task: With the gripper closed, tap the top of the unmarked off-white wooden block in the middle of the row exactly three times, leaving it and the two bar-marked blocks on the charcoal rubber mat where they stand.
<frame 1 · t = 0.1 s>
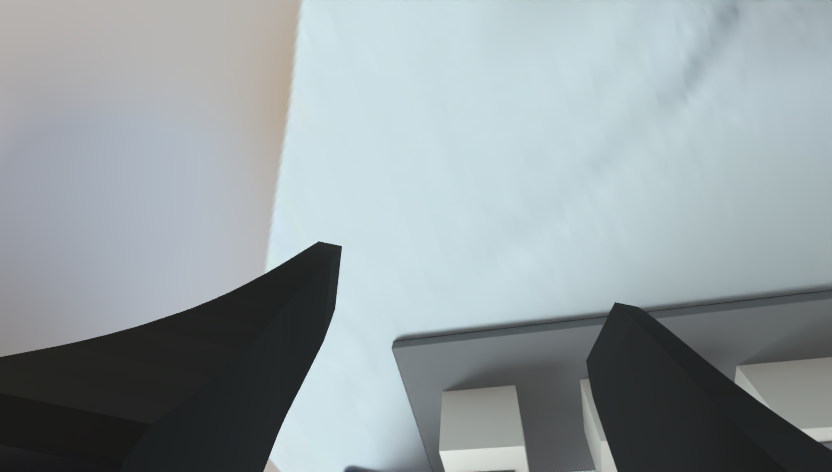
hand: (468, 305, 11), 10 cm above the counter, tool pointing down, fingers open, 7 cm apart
two bar block: (777, 391, 23), point 1 cm above the counter, touching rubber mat
one bar block: (483, 413, 26), point 1 cm above the counter, touching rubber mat
plain block: (621, 403, 25), point 1 cm above the counter, touching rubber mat
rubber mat: (618, 395, 25), on the counter
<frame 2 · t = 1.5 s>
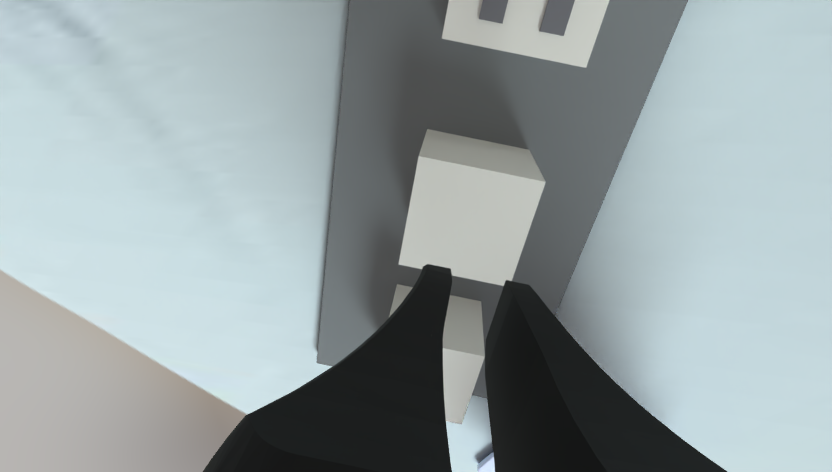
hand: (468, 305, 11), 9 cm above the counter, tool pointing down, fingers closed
one bar block: (430, 325, 23), point 1 cm above the counter, touching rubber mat
plain block: (466, 187, 19), point 1 cm above the counter, touching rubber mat
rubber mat: (466, 182, 19), on the counter
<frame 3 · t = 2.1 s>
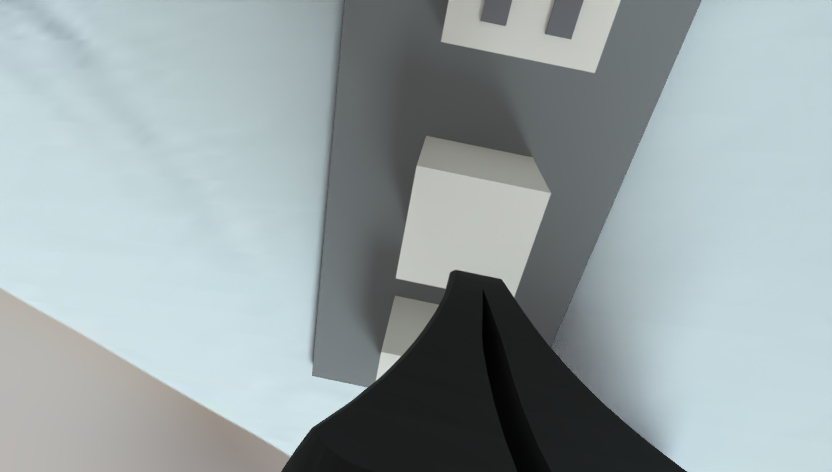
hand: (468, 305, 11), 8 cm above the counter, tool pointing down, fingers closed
one bar block: (430, 338, 22), point 1 cm above the counter, touching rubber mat
plain block: (466, 196, 18), point 1 cm above the counter, touching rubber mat
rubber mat: (466, 191, 19), on the counter
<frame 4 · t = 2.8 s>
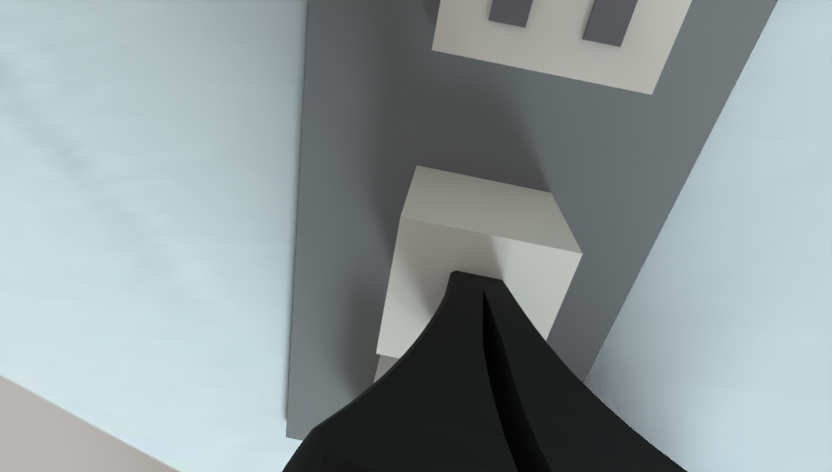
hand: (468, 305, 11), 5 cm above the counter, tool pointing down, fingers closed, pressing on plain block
one bar block: (423, 399, 18), point 1 cm above the counter, touching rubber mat
plain block: (467, 238, 15), point 1 cm above the counter, touching gripper, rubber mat
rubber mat: (467, 230, 15), on the counter
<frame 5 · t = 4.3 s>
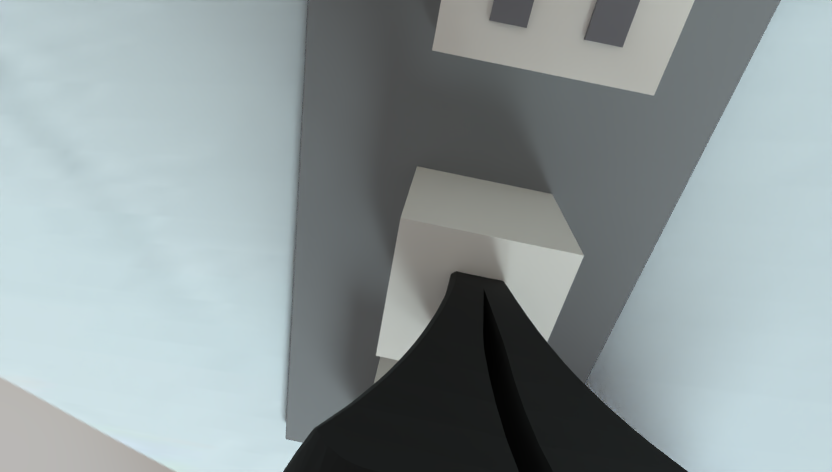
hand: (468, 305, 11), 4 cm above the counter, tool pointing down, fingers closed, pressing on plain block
plain block: (468, 239, 14), point 1 cm above the counter, touching gripper, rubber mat
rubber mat: (468, 231, 15), on the counter
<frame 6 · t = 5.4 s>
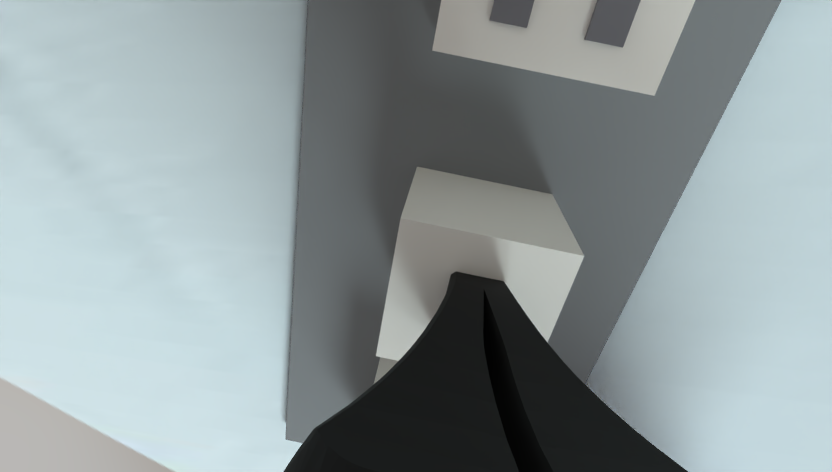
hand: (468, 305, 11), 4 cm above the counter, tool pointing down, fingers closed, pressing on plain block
plain block: (468, 239, 14), point 1 cm above the counter, touching gripper, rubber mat
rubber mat: (468, 232, 15), on the counter
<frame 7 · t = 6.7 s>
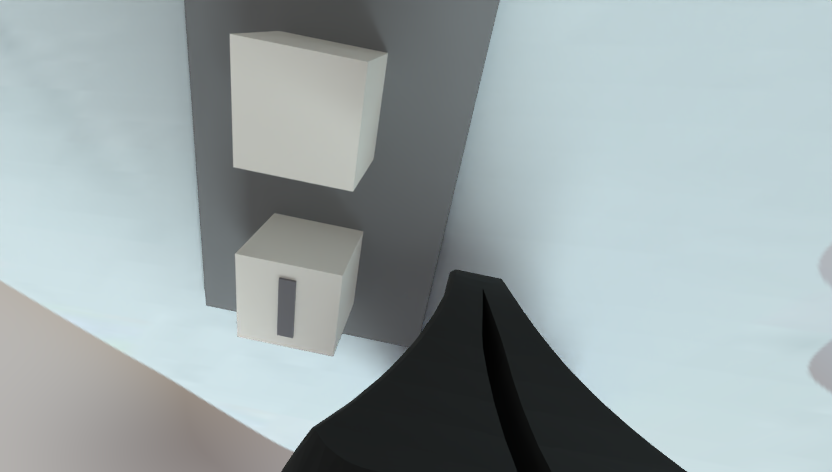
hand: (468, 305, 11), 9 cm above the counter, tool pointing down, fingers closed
one bar block: (315, 260, 21), point 1 cm above the counter, touching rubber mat
plain block: (329, 98, 18), point 1 cm above the counter, touching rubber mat
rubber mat: (333, 96, 18), on the counter
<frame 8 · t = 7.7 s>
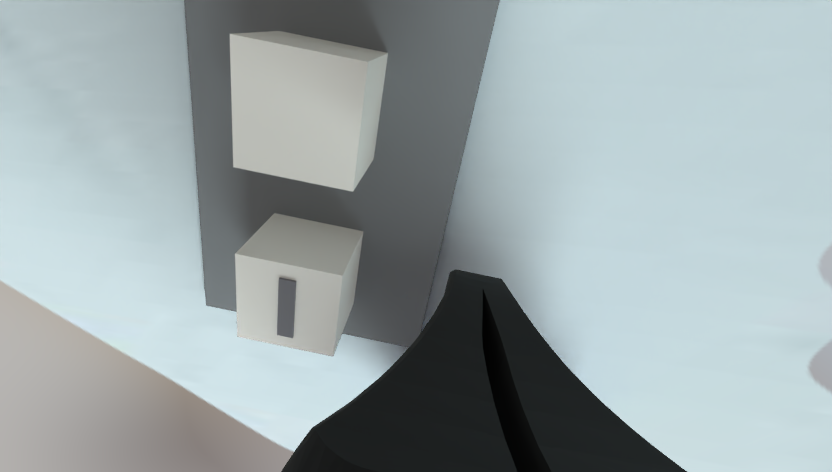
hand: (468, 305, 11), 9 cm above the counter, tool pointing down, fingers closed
one bar block: (315, 260, 21), point 1 cm above the counter, touching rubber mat
plain block: (329, 98, 18), point 1 cm above the counter, touching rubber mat
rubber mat: (333, 96, 18), on the counter
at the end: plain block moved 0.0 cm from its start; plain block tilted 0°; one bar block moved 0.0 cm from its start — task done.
